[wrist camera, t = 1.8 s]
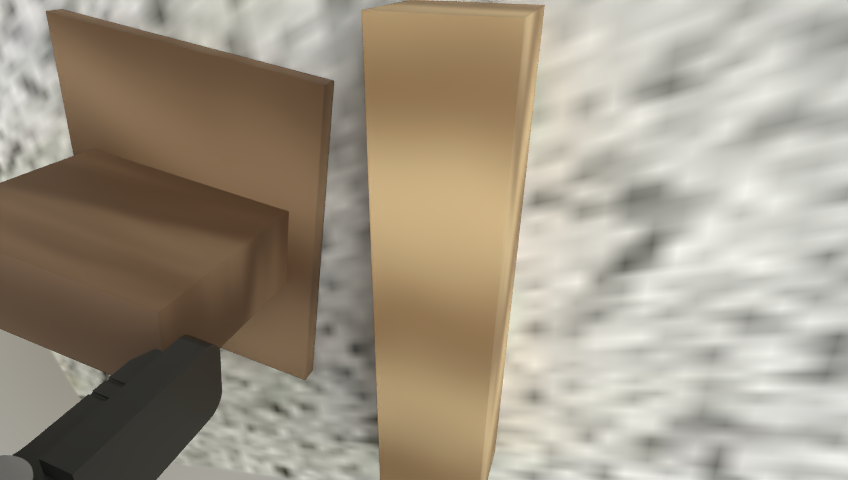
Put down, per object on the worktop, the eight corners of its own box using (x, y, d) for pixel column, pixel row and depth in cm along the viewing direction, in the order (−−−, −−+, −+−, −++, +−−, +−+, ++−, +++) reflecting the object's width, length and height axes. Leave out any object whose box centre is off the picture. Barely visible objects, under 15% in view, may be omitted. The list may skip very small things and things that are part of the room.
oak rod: (414, -2, 14) (362, 10, 11) (546, 4, 13) (525, 17, 10) (413, 422, 22) (380, 494, 19) (496, 444, 21) (476, 524, 18)
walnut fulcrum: (62, 9, 18) (-193, 34, 12) (334, 80, 16) (178, 149, 10) (112, 294, 24) (-41, 396, 18) (312, 370, 22) (208, 510, 16)
